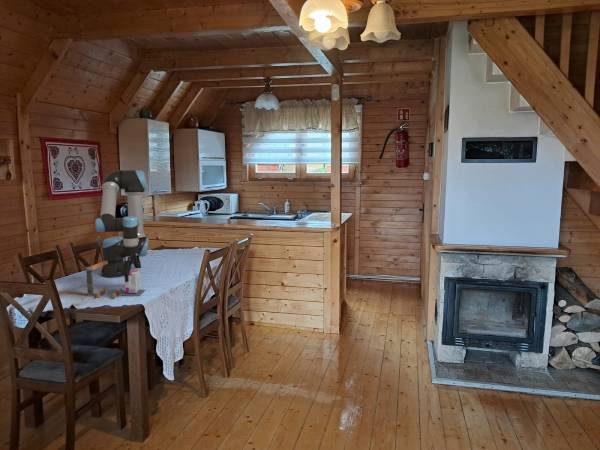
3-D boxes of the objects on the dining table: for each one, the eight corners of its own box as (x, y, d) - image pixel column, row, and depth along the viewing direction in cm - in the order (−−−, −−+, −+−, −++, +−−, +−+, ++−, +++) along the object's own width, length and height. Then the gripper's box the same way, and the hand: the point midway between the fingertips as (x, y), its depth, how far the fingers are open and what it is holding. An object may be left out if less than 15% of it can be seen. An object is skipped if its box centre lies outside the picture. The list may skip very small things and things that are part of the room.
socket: (93, 292, 246) (91, 268, 244) (121, 293, 246) (120, 269, 244) (84, 298, 237) (82, 273, 234) (114, 299, 236) (112, 274, 234)
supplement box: (140, 290, 249) (139, 270, 247) (136, 294, 243) (135, 273, 241) (129, 290, 249) (128, 270, 247) (125, 293, 243) (124, 273, 241)
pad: (127, 290, 251) (127, 289, 251) (145, 290, 251) (145, 289, 251) (120, 296, 241) (120, 295, 241) (138, 296, 241) (138, 295, 241)
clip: (84, 271, 238) (84, 267, 238) (103, 263, 254) (103, 260, 254) (89, 271, 237) (89, 268, 237) (108, 263, 253) (108, 260, 253)
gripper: (129, 250, 229) (130, 290, 233) (146, 240, 254) (147, 276, 258) (114, 250, 229) (116, 290, 233) (132, 240, 254) (134, 276, 258)
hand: (132, 283), depth 245 cm, fingers open, 13 cm apart
